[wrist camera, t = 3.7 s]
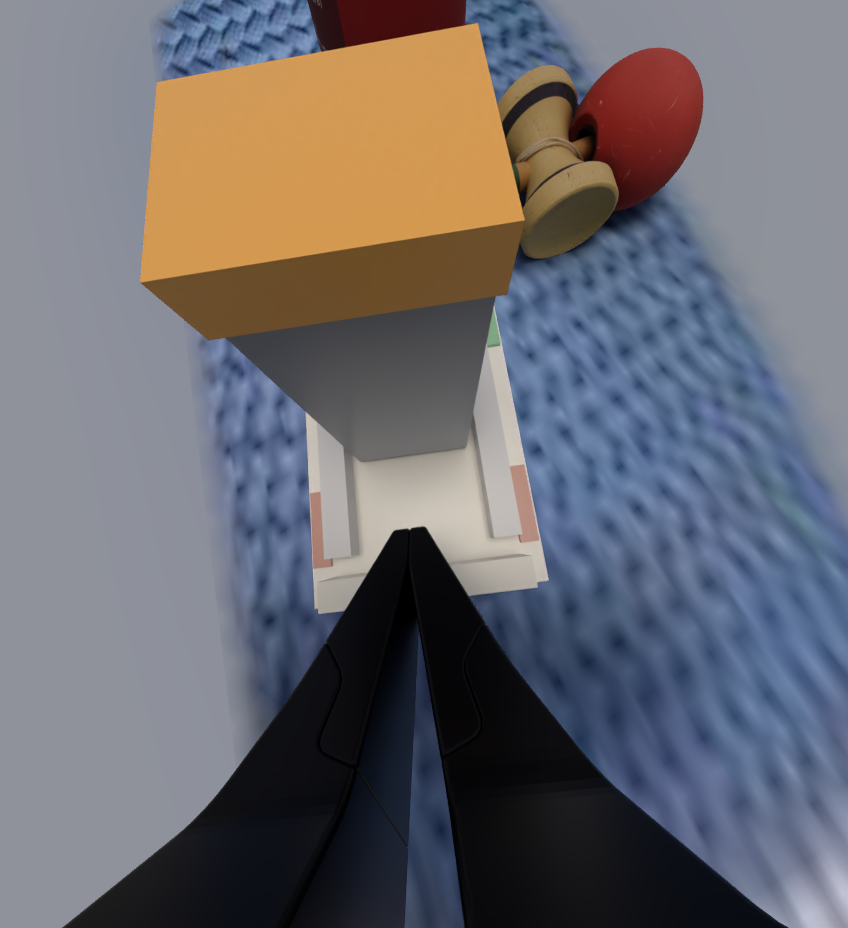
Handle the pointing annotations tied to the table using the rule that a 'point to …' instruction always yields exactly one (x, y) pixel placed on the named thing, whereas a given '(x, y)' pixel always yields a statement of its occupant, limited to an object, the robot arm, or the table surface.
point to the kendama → (597, 143)
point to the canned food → (380, 19)
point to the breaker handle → (342, 229)
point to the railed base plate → (430, 501)
